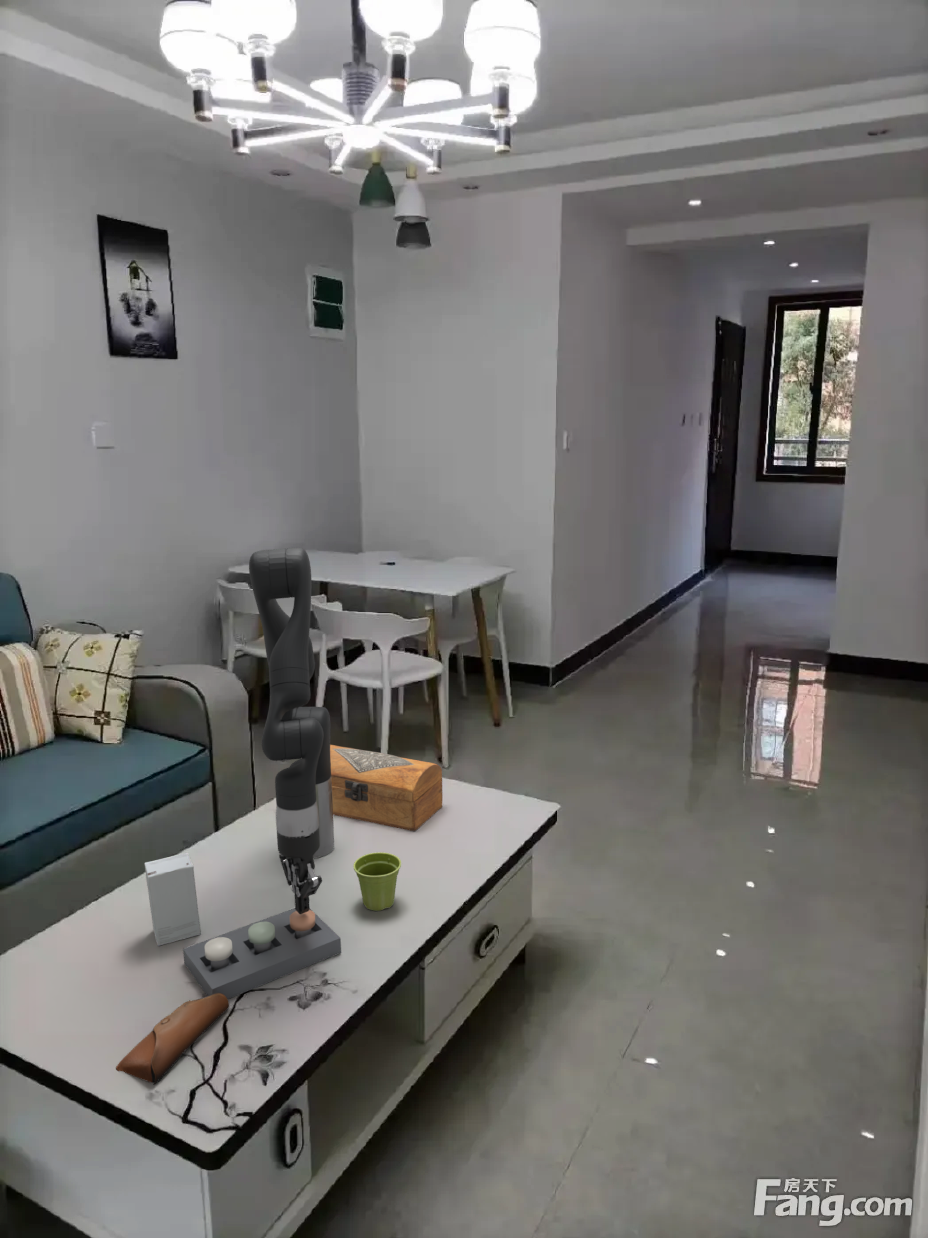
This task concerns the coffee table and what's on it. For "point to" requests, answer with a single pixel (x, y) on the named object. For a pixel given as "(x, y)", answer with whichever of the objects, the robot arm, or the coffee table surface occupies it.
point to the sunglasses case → (172, 1038)
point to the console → (261, 956)
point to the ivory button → (218, 952)
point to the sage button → (261, 936)
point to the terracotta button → (302, 923)
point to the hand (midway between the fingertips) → (302, 911)
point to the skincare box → (173, 898)
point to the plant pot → (377, 879)
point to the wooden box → (384, 788)
